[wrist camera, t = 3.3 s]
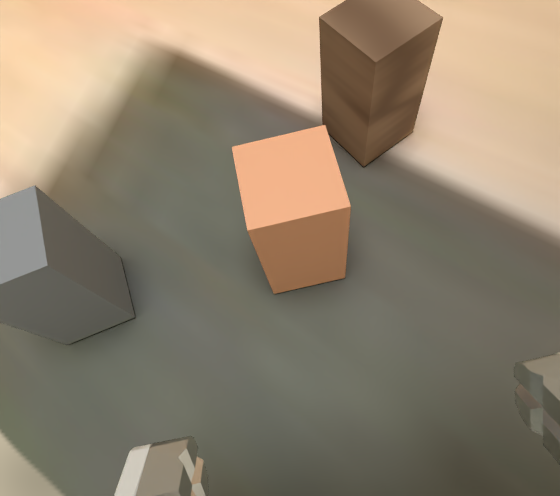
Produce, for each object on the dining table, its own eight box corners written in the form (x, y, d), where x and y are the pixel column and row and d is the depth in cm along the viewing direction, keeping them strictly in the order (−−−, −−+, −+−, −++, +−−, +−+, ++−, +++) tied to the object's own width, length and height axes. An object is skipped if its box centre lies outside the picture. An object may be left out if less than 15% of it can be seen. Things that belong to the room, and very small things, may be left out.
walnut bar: (369, 95, 32) (382, -24, 23) (412, 131, 30) (443, 17, 22) (322, 127, 31) (319, 17, 23) (363, 166, 29) (375, 62, 21)
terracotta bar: (327, 215, 28) (325, 124, 20) (345, 277, 26) (350, 206, 18) (261, 230, 28) (231, 147, 20) (274, 293, 26) (247, 230, 18)
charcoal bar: (120, 256, 28) (34, 185, 20) (135, 317, 27) (47, 265, 18) (56, 282, 28) (-56, 220, 20) (67, 345, 26) (-53, 304, 18)
